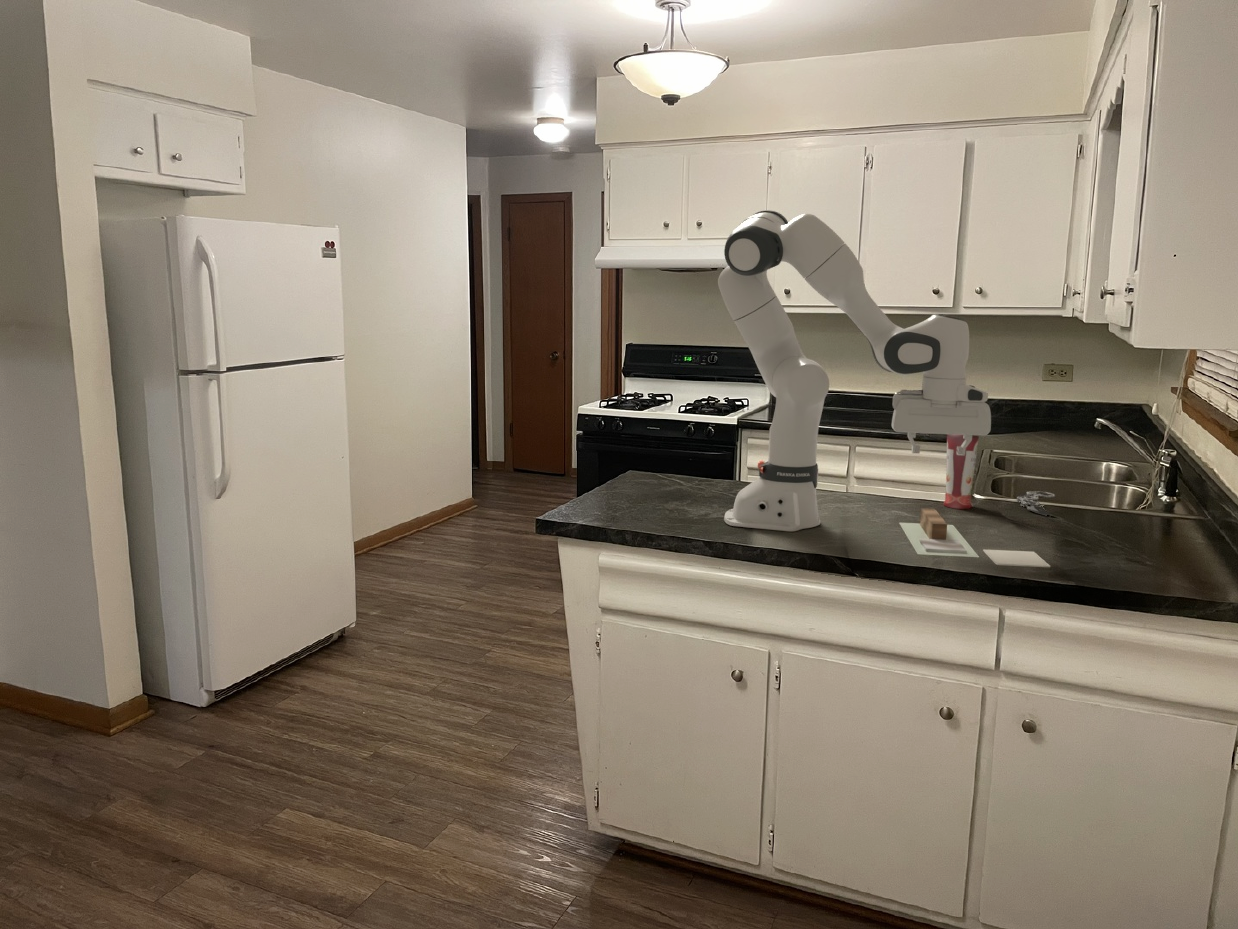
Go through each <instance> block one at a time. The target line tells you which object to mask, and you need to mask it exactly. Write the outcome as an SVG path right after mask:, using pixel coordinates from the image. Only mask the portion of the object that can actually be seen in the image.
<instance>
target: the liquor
mask: <svg viewBox="0 0 1238 929" xmlns="http://www.w3.org/2000/svg"><path fill="white" fill-rule="evenodd" d="M979 437H980V435H972V441H971V442H970V443H969V445H968V446H967V447H966V449H965V456H963V455H957V454H956V451H957V446H961V445H962V444H963V442H964V441H965V439H964V438H963V435H955V434H946V470H945V471H946V476H945V493H944V494H945V495H944V496H945V497H944V501H943V503H942V504H943V506H944V507H946V508H949V509H955V510H969V509H971V508H972V507H973V504H972V500H971V499H972V492H973V491H972V490H973V482H974V475H975V467H976V460H977V455H978V454H977V453H978V447H979V446H978V445H979Z"/></svg>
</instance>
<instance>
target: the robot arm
mask: <svg viewBox="0 0 1238 929" xmlns="http://www.w3.org/2000/svg"><path fill="white" fill-rule="evenodd" d="M723 253H724V258H725V263H726V264H727V266H726V267H725V268H724V269H723V270H722V271H721V272H720V274H719V276H718V279H717V286H718V289H719V291H720V295H721V298H722V301H723V303H724V305H725V308H726V309H727V311H728V314H729V316H730V317H731V319H732V321H733V322H734V324H735V326H736V327H737V330H738V332H739V333H740V335H741V337H742V339H743V340H744V342H745V344H746V346H747V347H748V349H749V351H750V353H751V355H752V357H753V360H754V361H755V362H754V363H755V364H756V367H757V368H758V371H759V374H760V375H761V377H762V379H763V381H764V384H765V385H766V387H767V390H768V391H769V392H770V394H771V395H772V396H773V397H775V405H774V406H775V409H774V412H773V418H772V422H771V425H770V427H769V433H768V434H769V436H768V438H769V439H768V460H767V461H764V460H759V462H757V468H758V475H759V476H758V478H757V479H755V480H754V481H751V483H749V484H748V485H746V486H745V487H743V488H742V489H740V490H739V491H738V493H737V494H736V497H735V500H734V502H733V503H734V504H733V508H731V509H728V510H727V511H725V513H724V517H723V521H724V522H725V523H726V524H727V525H729V526H731V527H732V526H733V527H739V528H740V527H743V528H752V529H762V530H772V531H781V532H782V531H783V532H797V531H800V530H803V529H810V528H814V527H817V526H819V525H820V524H821V519H820V515H819V510H818V502H817V501H818V499H817V487H818V483H819V482H818V481H819V465H818V463H817V457H818V456H817V453H818V452H817V451H818V435H819V428H820V422H821V418H822V414H823V413H822V412H823V410H824V404H825V400H826V397H827V395H828V393H829V389H830V379H829V376H828V374H827V372H826V370H825V369H824V367H823V366H822V365H821V364H819V363H818V362H817V361H815V360H813V359H810V358H807V356H805V354H804V352H803V350H802V348H801V345H800V343H799V340H798V338H797V336H796V333H795V328H794V325H793V322H792V321H791V318H789V316H788V315H789V314H787V311H786V310H785V309H784V306H783V304H782V303H781V301H780V299H779V298H778V296H777V294H776V292H775V290H774V289H773V287H772V285H771V284H770V282H769V281H770V280H769V279H768V270H770V269H772V268H774V267H775V268H776V267H777V266H779V265H780V264H781V262H785V263H788V264H789V265H790V266H792V267H793V268H794V269H795V270H796V271H797V273H798V274H800V276H801V277H802V279H804V280H805V281H806V283H808V285H809V286H810V287H811V288H812V289H814V290H815V291H816V293H817V294H819V295H820V296H821V297H823V298H824V299H825V300H826V301H828V302H829V303H832V304H833V305H834V306H836V307H837V308H839V309H840V310H841V311H843V313H845V315H847V317H848V319H850V320H851V322H853V324H854V325H855V326H856V327H857V328H858V330H859V331H860V332H861V333H862V334H863V336H864V337H865V339H866V340H867V341H868V343H869V345H870V349H871V352H872V356H873V359H874V361H875V362H876V365H878V366H879V368H880V369H883V371H886V372H889V373H895V374H896V375H897V374H898V375H902V376H908V375H913V374H917V373H922V382H921V383H922V386H921V389H900V391H896V392H895V393H894V394H893V397H892V403H891V404H892V408H893V409H894V410H893V413H892V417H891V428H892V429H893V431H894V432H896V433H906V434H907V438H908V440H909V442H910V444H911V453H912V454H918V455H919V454H920V452H921V451H920V449H921V445H920V444H917V443H916V442H915V440H914V439H916V437H917V436H916V435H917V434H930V435H931V434H933V435H948V434H955V435H963V438H964V439H965V441H964V442H963V444H962V445H961V446H957V451H956V454H957V455H963V456H965V449H966V447H967V446H968V445H969V443H970V442H971V441H972V435H978V436H980V437H981V436H987V435H988V434H989V433H990V432H991V430H992V428H991V427H992V413H991V408H990V406H989V404H988V403H986V402H987V401H988V400H989V393H988V392H987V391H985V390H983V389H980V388H979V387H976V386H974V385H971V384H967V372H966V366H967V362H968V360H969V354H970V330H969V329H970V328H969V325H968V322H966V320H965V319H963V318H961V317H957V316H953V315H948V314H942V313H935V314H932V315H931V316H930V317H928V318H927V319H925V320H923V321H921V322H918V323H916V324H914V325H911V326H909V327H906V328H904V327H902V326H899V325H898V324H895V323H894V322H893V321H892V320H890V318H889V317H888V316H887V314H885V313H884V311H883V310H882V309H881V308H880V306H878V303H876V302H875V301H874V299H873V298H872V297H871V295H870V294H869V292H868V290H867V287H866V283H865V280H864V278H865V277H864V268H863V267H862V264H861V263H860V261H859V260H858V258H857V257H856V255H855V253H854V252H853V250H852V249H851V248H850V247H849V246H848V244H847V243H846V242H845V241H844V240H843V239H842V238H841V236H839V235H838V234H837V233H836V232H835V231H834V230H833V229H832V228H831V227H830V226H828V225H827V224H826V223H825V222H824V221H823V220H821V219H820V218H818V217H817V216H816V215H814V214H811V213H803V214H801V215H798V216H796V217H794V218H792V219H791V220H790V221H788V219H787V218H786V217H785V216H784V215H783V214H782V213H780V212H778V211H776V210H771V209H770V210H769V209H768V210H767V209H766V210H760V211H758V212H755V213H753V214H752V215H751V216H749V217H747V218H745V219H744V220H743V221H741V223H740V224H739V225H738V226H737V227H736V228H735V229H734V230H732V232H731V233H730V234H729V236H728V237H727V239H726V242H725V245H724V250H723Z"/></svg>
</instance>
